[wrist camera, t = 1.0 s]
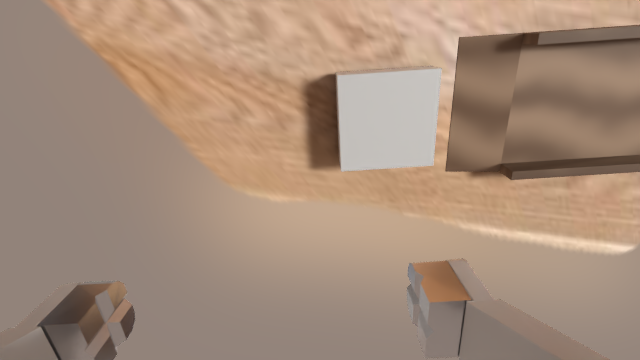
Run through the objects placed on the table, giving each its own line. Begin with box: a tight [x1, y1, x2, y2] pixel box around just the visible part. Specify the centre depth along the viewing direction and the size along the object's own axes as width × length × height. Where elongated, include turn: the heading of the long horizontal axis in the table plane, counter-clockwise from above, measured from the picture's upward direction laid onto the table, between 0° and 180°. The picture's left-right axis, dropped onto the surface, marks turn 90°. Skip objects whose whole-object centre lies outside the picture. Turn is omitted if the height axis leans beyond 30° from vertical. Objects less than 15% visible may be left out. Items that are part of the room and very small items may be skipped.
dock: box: [446, 25, 640, 180], centre depth 35 cm, size 15×27×4 cm, turn 94°
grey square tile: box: [335, 66, 442, 171], centre depth 35 cm, size 10×10×4 cm
